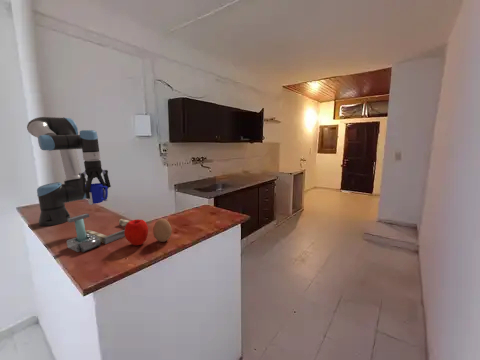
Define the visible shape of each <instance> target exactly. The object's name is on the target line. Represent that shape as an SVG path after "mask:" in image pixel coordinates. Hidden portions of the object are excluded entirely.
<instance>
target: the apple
mask: <svg viewBox="0 0 480 360" xmlns="http://www.w3.org/2000/svg"><path fill="white" fill-rule="evenodd" d="M128 221H129V222H128V223H127V224H126V226H124V230H125V231H124V235H125V239H126V241H127V242H129V243H130V244H131V245H132V246H141V245H143V244H144V243H146V240H147V238H148V234H149V226H148V224H147V222H146V221H145V220H144V219H140V218H139V219H133V220H128Z"/></svg>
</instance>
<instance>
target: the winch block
mask: <svg viewBox="0 0 480 360" xmlns="http://www.w3.org/2000/svg"><path fill="white" fill-rule="evenodd" d="M86 238H87V239H86V240H83V241H81V242H78V239H77V236H75V237H73V238H70V239H67V240H66V246H67V248H68V249H69V250H72V251H74V252H76V253H79V252H82V253H85V252H87V251H89V250H92V249H95V248H97V247H99V246H101V244H102V242H100V239H99V238H98V237H96V236H94V235H91V234H88V233H87V234H86Z"/></svg>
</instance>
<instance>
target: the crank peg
mask: <svg viewBox="0 0 480 360" xmlns="http://www.w3.org/2000/svg"><path fill="white" fill-rule="evenodd" d="M86 218H87V219H88V218H90V214H89V213H84V214H83V213H82V214H79V215H76V216H72V217H70V218H69V219H67V220H68V221H67V222H68V223H73V222H74V226H75V231H76V233H75V234H76V237H77V239H78V242H81V241H83V240H86V239H87V238H86V231H87V230H86V227H85V226H86V225H85V220H84V219H86Z"/></svg>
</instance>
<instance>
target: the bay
mask: <svg viewBox="0 0 480 360" xmlns="http://www.w3.org/2000/svg"><path fill="white" fill-rule="evenodd" d="M129 221H130V220H128V219H124V218H120V219H119V220H118V223H119V226H122V227H125V226H126V224H127V223H128V222H129ZM85 231H86V234H87V233H88V234H91V235H94V236H96V237H98V238H99V239H100V242H101V244H105V245H106V244H110V243H113V242H115V241H118V240H120V239H122V238H124V237H125V235H124V231H125V229H123V230H119V231H117V232H113V233H111V234H109V235H106V234H103V233H100V232H97V231H94V230H91V229H88V230H85ZM125 238H126V237H125Z"/></svg>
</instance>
